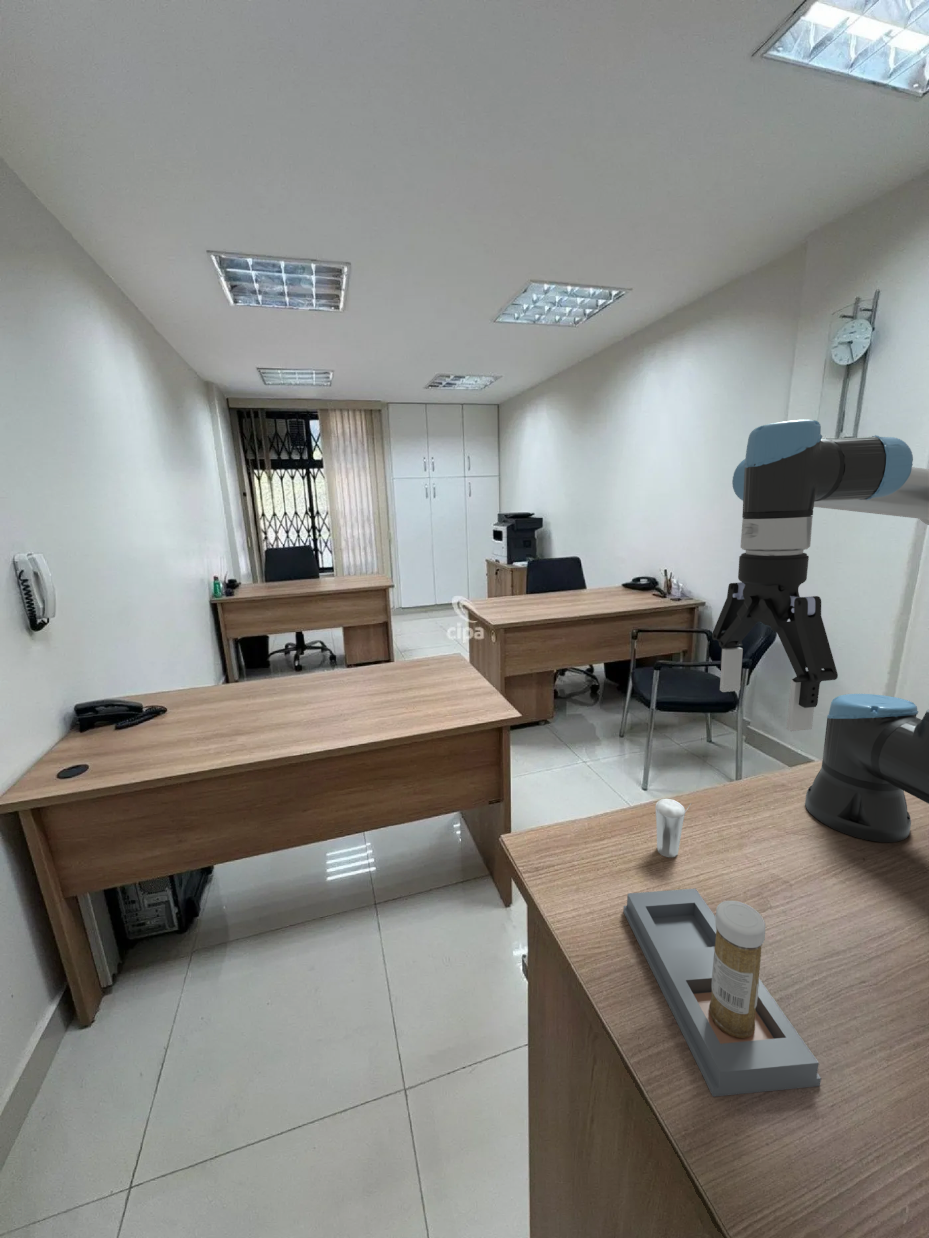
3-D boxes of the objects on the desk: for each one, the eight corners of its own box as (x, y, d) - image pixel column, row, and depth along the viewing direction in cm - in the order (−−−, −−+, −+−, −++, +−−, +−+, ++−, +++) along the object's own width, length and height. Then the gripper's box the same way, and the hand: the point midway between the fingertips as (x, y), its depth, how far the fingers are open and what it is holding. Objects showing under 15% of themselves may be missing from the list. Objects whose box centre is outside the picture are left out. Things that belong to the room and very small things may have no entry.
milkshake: (684, 866, 79) (689, 810, 77) (650, 854, 82) (653, 800, 80) (689, 849, 83) (693, 796, 81) (655, 839, 86) (659, 787, 84)
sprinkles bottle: (763, 1024, 54) (774, 919, 51) (740, 1049, 51) (751, 940, 48) (722, 991, 57) (731, 892, 55) (699, 1013, 55) (707, 910, 52)
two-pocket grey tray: (697, 906, 71) (698, 888, 71) (819, 1085, 49) (823, 1062, 48) (623, 911, 71) (624, 893, 70) (712, 1096, 48) (715, 1072, 48)
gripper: (691, 547, 74) (685, 680, 79) (826, 563, 50) (806, 753, 55) (738, 544, 75) (729, 676, 79) (893, 558, 51) (868, 747, 55)
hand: (761, 708), depth 67 cm, fingers open, 13 cm apart
